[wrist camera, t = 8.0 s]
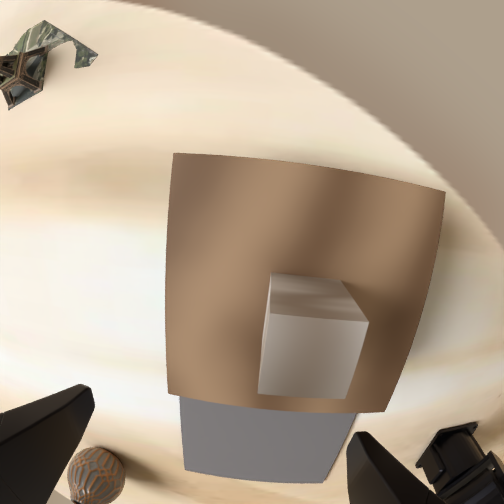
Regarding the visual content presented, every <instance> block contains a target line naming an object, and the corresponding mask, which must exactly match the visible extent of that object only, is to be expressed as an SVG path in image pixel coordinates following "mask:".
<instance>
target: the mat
mask: <svg viewBox="0 0 504 504" xmlns="http://www.w3.org/2000/svg"><path fill="white" fill-rule="evenodd" d="M355 415H356V413H309V412H291V411H278V410H267V409H257V408H249V407H241V406H233V405H226V404H220V403H214V402H208V401H202V400H197V399H192V398H187V397H182V396H180V416H181V431H182V444H183V456H184V467H185V470H188V471H192V472H197V473H202V474H208V475H214V476H220V477H227V478H234V479H242V480H251V481H262V482H277V483H323V481H324V480H325V478H326V476H327V474H328V472H329V470H330V468H331V466H332V465H333V463H334V461H335V459H336V457H337V455H338V453H339V451H340V449H341V446H342V444H343V442H344V440H345V438H346V436H347V434H348V431H349V429H350V427H351V425H352V422H353V420H354V418H355Z"/></svg>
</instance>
